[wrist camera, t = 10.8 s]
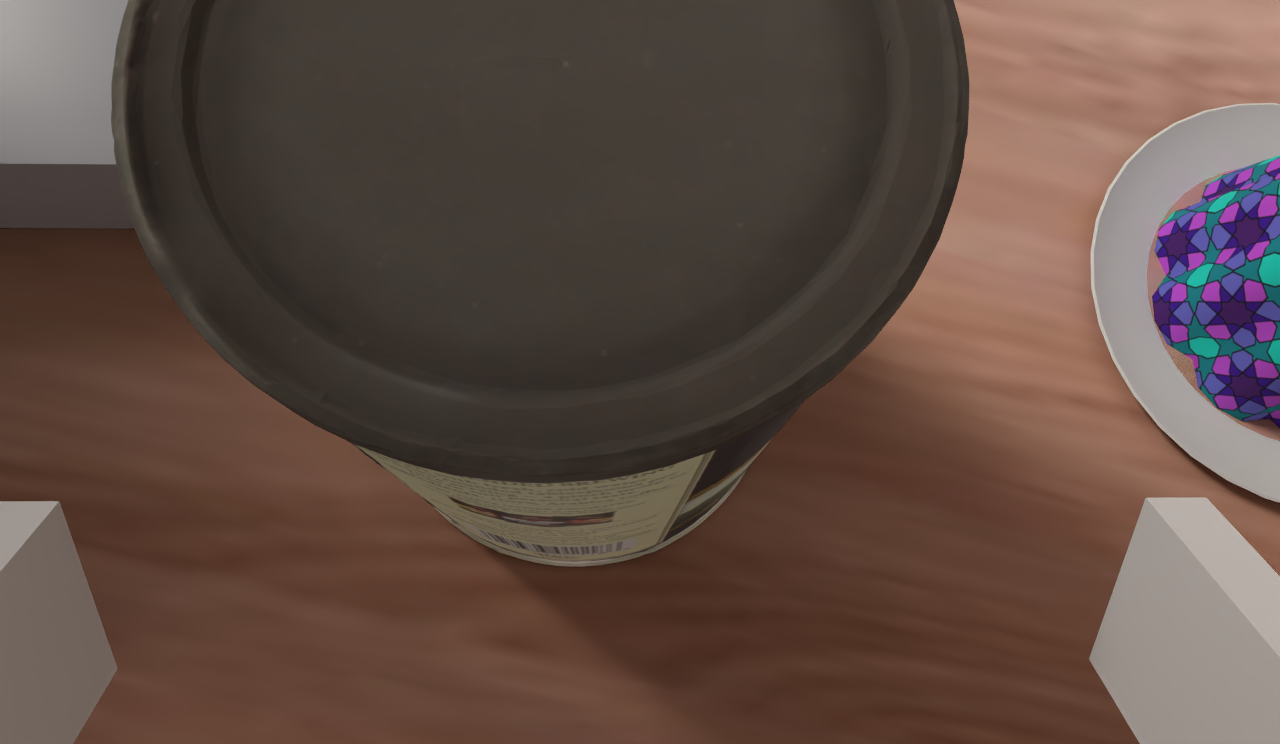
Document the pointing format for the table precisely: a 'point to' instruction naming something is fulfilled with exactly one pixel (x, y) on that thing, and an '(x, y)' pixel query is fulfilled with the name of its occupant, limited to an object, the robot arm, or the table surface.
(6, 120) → the tray
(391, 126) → the coffee can
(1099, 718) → the table surface
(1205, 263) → the pudding
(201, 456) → the table surface
